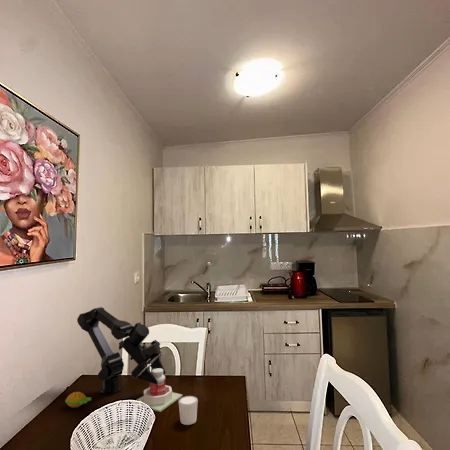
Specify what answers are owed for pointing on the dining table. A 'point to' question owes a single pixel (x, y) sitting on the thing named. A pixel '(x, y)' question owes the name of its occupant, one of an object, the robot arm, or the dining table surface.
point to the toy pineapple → (76, 399)
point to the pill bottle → (160, 386)
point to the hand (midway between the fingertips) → (161, 378)
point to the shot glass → (188, 409)
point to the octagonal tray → (160, 399)
